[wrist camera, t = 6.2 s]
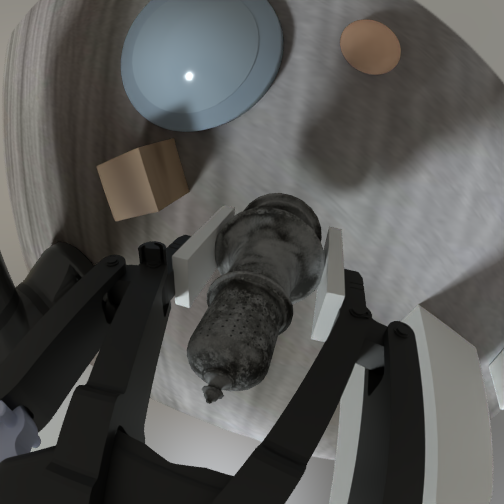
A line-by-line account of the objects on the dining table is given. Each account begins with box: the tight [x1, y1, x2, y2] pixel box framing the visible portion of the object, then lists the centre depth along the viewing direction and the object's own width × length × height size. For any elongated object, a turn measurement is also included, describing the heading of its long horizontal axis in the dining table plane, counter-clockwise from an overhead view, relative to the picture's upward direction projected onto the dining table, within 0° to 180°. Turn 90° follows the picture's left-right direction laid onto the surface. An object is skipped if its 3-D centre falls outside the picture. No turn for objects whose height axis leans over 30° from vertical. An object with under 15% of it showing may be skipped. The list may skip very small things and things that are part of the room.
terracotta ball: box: [340, 20, 401, 75], centre depth 13 cm, size 4×4×4 cm
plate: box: [121, 0, 284, 132], centre depth 17 cm, size 14×14×1 cm
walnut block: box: [96, 138, 190, 221], centre depth 22 cm, size 5×5×5 cm
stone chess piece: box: [187, 193, 325, 404], centre depth 12 cm, size 6×6×12 cm
